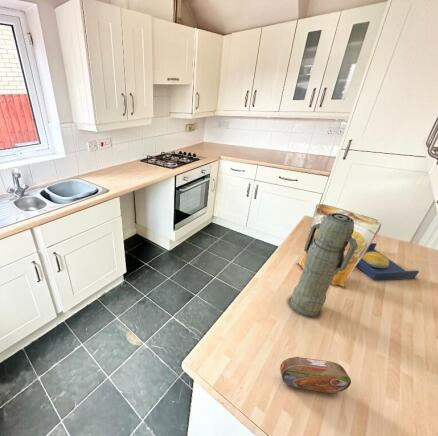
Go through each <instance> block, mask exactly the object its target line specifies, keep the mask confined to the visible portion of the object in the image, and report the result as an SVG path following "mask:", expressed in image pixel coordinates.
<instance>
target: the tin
mask: <svg viewBox="0 0 438 436" xmlns="http://www.w3.org/2000/svg"><path fill="white" fill-rule="evenodd" d="M279 373H280V375H281V379H282V381H283V383H284V384H285V385H287V386H289V387H292V388H295V389H301V390H309V391H314V392H320V393H327V394H337V393H341V392H343V391H346V390H347V389H348V388H350V386H351V385H352V379H351V377H350V375H349V374H348V372H347V371H346V369H345V368H344V367H343V366H342V365H341V364H339V363H337V362H335V361H329V360H321V359H314V358H307V357H300V356H292V357H289V358H286V359H284V360H283V361H282V362H281V364H280V365H279Z"/></svg>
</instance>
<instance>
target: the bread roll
mask: <svg viewBox="0 0 438 436" xmlns="http://www.w3.org/2000/svg"><path fill="white" fill-rule="evenodd" d="M388 259H389V258H388V256H386V255H385V254H383V253H380V252H379V253H378V251H377V252H367V253H365V254H364V256H363V257H362V261H364V262H365V263H366V264H367V265H369V266H372V267H375V268H386V267H388V266H389V260H390V259H389V260H388Z"/></svg>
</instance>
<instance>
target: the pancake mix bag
mask: <svg viewBox="0 0 438 436" xmlns="http://www.w3.org/2000/svg"><path fill="white" fill-rule="evenodd" d="M331 213H340V214H344V215H347V216H349V217H350V218H352V219H353V220H354V231H353V234H352V238H353V239H355V240H356V242H357V245H358V246H357V248H356V250H355V252H354V254H353V256H352V258H351V259H350V261H349V263H348V266H347V268H346V269H345V270H341V271H338V273H337V274H336V275H334V277H333V279H332V282H331V284H330V285H333V286H340V287H343V288H344V287H345V281H346V280H347V279H348V277H349V276H350V275H351V274H352V272H353V271H354V269H355V268H356V267H357V264H358V262H359V261H360V259H361V258H362V257H363V255H364V253H365V252H366V251H367V250H368V248H369V246H370V245H371V243H373V241H374V239H375V237H376V236H377V235H378V233H379V231H380V230H381V227H382V223H381V222H379V220H378V219H376V218H374V217H371V216H366V215H364V214H359V213H355V212H353V211H350V210H347V209H343V208H339V207H335V206H332V205H329V204H324V203H317V204H316V206H315V209H314V212H313V216H312V221H311V224H310V228H309V231H308V236H309V233H310V231H311V228H312V227H313V226H314V225H316V224H319V223H320V224H321V222H322V220H323V219H324V218H325V217H326V216H327V215H328V214H331ZM318 230H319V229H317V228H316V231H315V234H314V236H313V239H312V242H311V245H312V244H313V243H314V240H315V239H316V235H317V232H318ZM308 236H307V237H308ZM311 245H310V246H311ZM349 247H350V244H349V242H348V245H347V246H346V247H345V251H344V258H345V256H346V254H347V252H348V249H349ZM303 252H304V253H303V255H302V258H301V260H300V262H299V263H298V265H299V266H301V267H302V268H301V269H302V270H303V269H304V266H305V263H304V261H305V258H306V255H307V254H306V252H305V251H303Z"/></svg>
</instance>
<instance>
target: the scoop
mask: <svg viewBox="0 0 438 436" xmlns="http://www.w3.org/2000/svg"><path fill="white" fill-rule="evenodd" d="M376 247H377V243H376V242H372V243H371V245H370V246H369V248H368V250H367V251H366V252H365V253H367V252H378V251H377V250H376V249H375V248H376ZM365 253H364V254H365ZM378 253H380V252H378ZM363 256H364V255H363ZM388 260H389V266H388V267H386V268H375V267H372V266H369V265H367V264H366V263H365V262H364V261H362V258H361V259H360V261H359V262H358V264H357V265H356V267H358V268H359V269H360V270H361V271H363V273H365V274H366V275H368V276H369V277H370V278H371V279H372V280H374V281H384V280H387V281H388V280H407V279H408V280H409V279H410V280H411V279H416V278H417V276H418V274H419V273H420V270H405V268H402V267H401V266H399V265H398V264H396V263H395V262H394V261H392V260H391V259H389V258H388Z"/></svg>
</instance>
